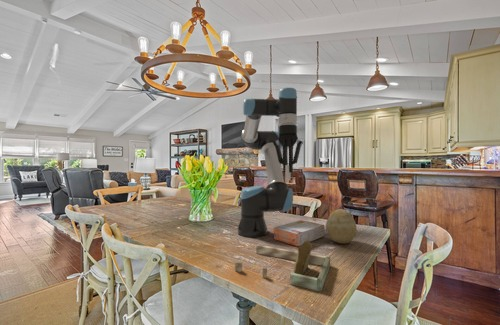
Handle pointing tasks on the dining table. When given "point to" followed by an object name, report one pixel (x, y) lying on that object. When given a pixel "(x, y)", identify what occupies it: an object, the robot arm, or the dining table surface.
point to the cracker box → (298, 232)
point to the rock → (302, 258)
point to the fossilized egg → (341, 226)
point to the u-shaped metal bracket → (295, 278)
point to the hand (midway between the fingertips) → (288, 180)
